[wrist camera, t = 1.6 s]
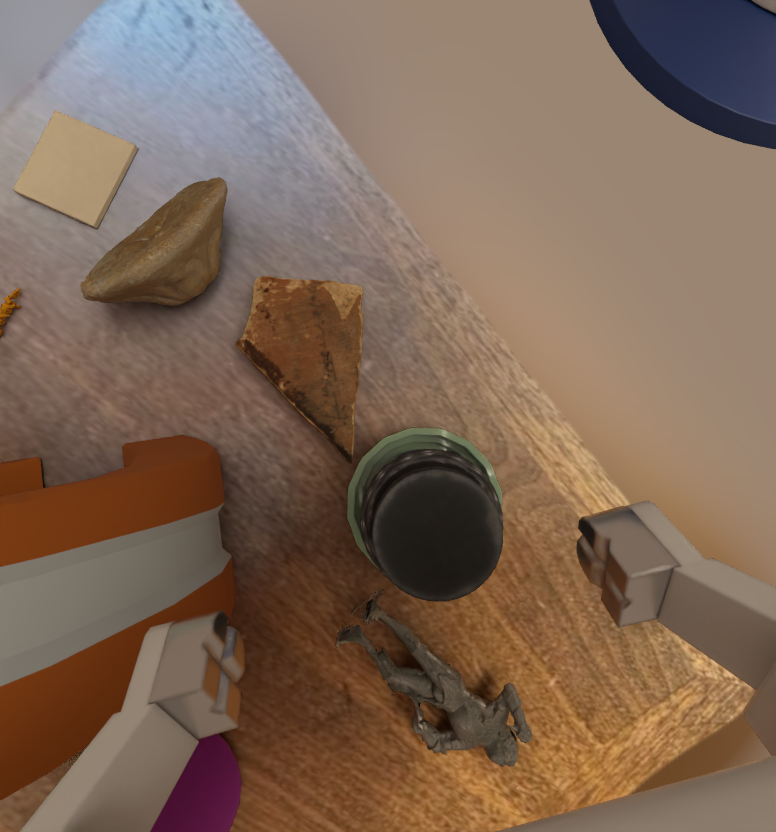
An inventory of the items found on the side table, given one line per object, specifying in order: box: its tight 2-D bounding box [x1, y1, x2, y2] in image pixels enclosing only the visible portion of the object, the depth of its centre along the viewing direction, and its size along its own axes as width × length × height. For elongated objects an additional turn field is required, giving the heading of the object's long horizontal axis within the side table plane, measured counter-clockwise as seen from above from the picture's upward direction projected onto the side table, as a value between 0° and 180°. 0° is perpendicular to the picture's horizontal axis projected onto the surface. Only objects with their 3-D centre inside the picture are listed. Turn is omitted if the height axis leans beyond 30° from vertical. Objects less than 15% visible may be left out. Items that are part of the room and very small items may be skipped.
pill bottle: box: [360, 449, 503, 602], centre depth 21 cm, size 6×6×11 cm
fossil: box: [81, 177, 227, 306], centre depth 26 cm, size 9×4×10 cm
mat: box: [13, 110, 138, 228], centre depth 29 cm, size 6×6×1 cm
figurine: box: [335, 589, 533, 767], centre depth 25 cm, size 6×4×12 cm
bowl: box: [347, 427, 502, 569], centre depth 25 cm, size 8×8×3 cm
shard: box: [236, 276, 363, 464], centre depth 27 cm, size 11×8×2 cm
